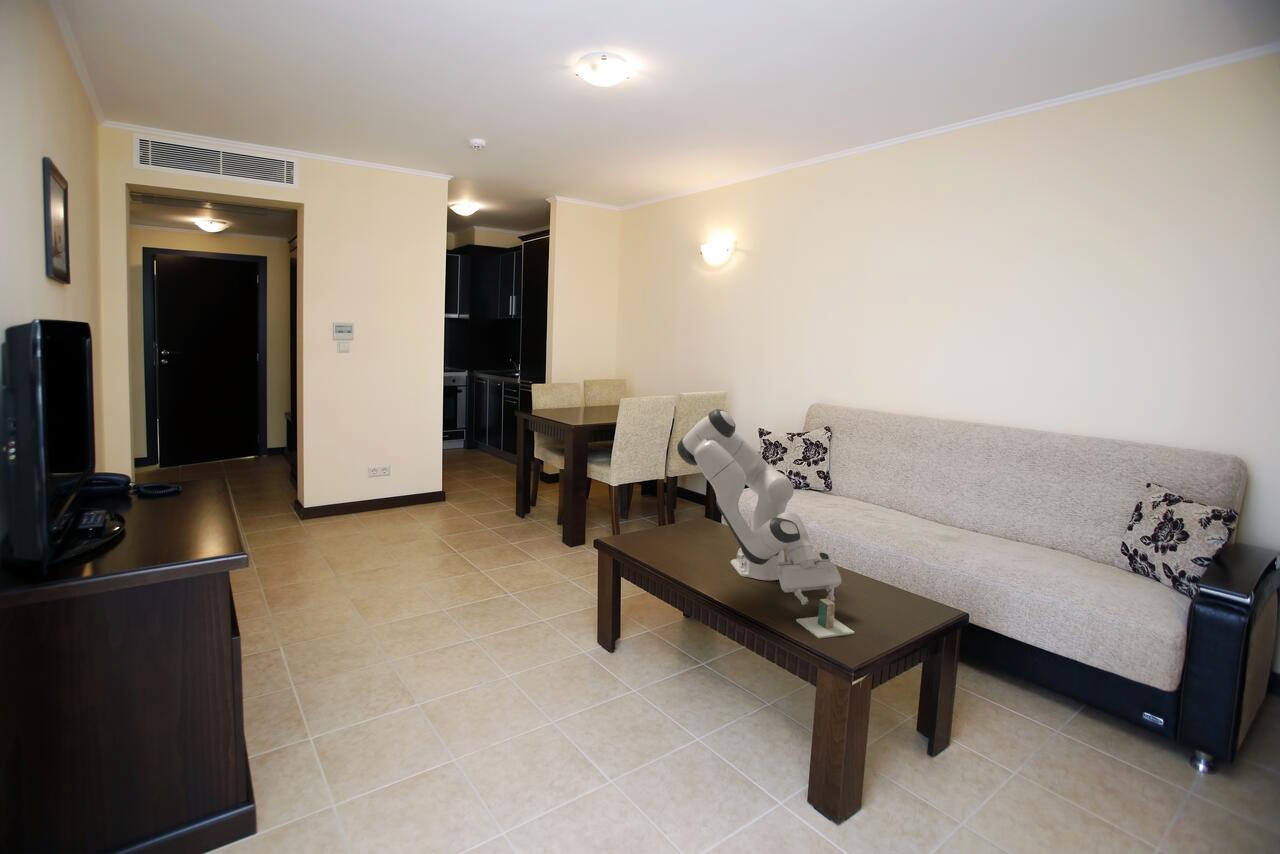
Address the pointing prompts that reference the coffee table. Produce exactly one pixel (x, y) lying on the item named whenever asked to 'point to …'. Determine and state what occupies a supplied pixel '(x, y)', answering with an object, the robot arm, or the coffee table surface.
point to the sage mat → (820, 631)
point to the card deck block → (826, 613)
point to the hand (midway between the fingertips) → (818, 602)
